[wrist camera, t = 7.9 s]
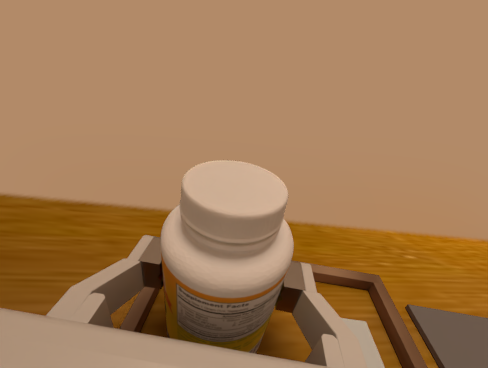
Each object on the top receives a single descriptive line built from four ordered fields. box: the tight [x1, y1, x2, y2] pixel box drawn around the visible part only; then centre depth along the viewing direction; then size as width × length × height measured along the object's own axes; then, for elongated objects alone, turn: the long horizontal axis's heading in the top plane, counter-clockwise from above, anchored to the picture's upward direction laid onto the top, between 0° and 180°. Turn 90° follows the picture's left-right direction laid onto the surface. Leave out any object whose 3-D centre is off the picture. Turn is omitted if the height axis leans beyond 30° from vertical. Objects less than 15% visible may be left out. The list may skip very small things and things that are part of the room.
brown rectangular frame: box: [120, 260, 428, 368], centre depth 13 cm, size 18×12×1 cm, turn 85°
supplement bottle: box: [161, 160, 294, 354], centre depth 11 cm, size 6×6×10 cm
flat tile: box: [341, 318, 385, 368], centre depth 13 cm, size 4×4×1 cm
